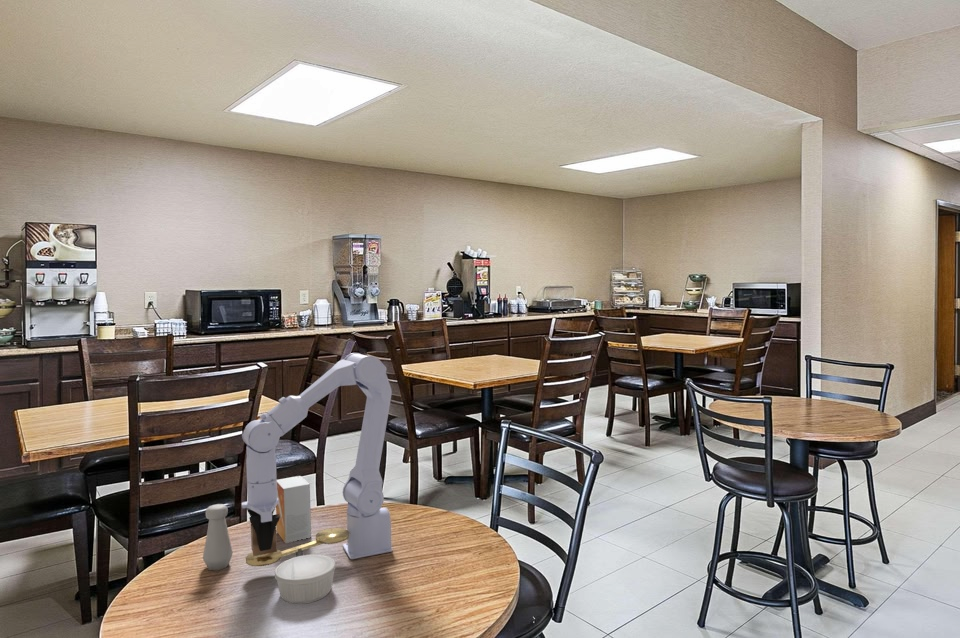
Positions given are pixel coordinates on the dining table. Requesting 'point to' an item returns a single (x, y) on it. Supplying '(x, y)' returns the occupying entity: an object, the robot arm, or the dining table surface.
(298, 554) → the balance
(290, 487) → the small box
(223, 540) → the salt shaker
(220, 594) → the dining table surface
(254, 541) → the block
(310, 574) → the ramekin
